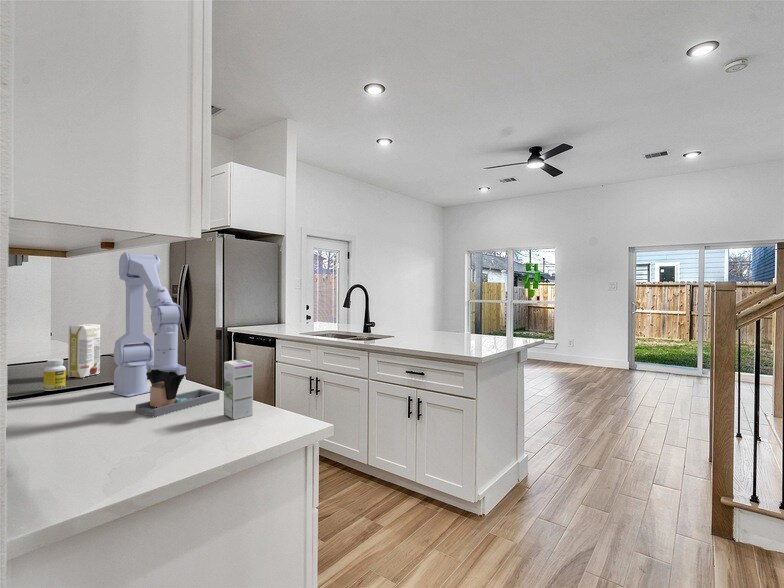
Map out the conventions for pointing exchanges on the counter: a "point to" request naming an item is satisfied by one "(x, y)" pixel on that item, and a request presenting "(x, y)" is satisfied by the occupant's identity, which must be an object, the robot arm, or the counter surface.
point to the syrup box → (238, 389)
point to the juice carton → (84, 350)
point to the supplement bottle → (54, 374)
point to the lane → (205, 397)
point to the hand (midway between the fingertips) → (165, 397)
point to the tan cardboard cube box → (159, 395)
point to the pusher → (180, 400)
